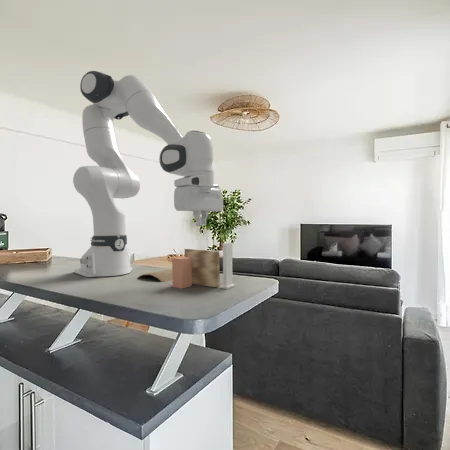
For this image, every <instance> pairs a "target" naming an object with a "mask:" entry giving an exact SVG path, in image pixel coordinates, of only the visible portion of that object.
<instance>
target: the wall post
mask: <svg viewBox="0 0 450 450" xmlns="http://www.w3.org/2000/svg"><path fill="white" fill-rule="evenodd" d="M233 278H234V277H233V242H222V283H223V284H221V285H220V289H225V290H228V289H232V288H235V287H236V284H234V283H233V281H234V280H233Z"/></svg>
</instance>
